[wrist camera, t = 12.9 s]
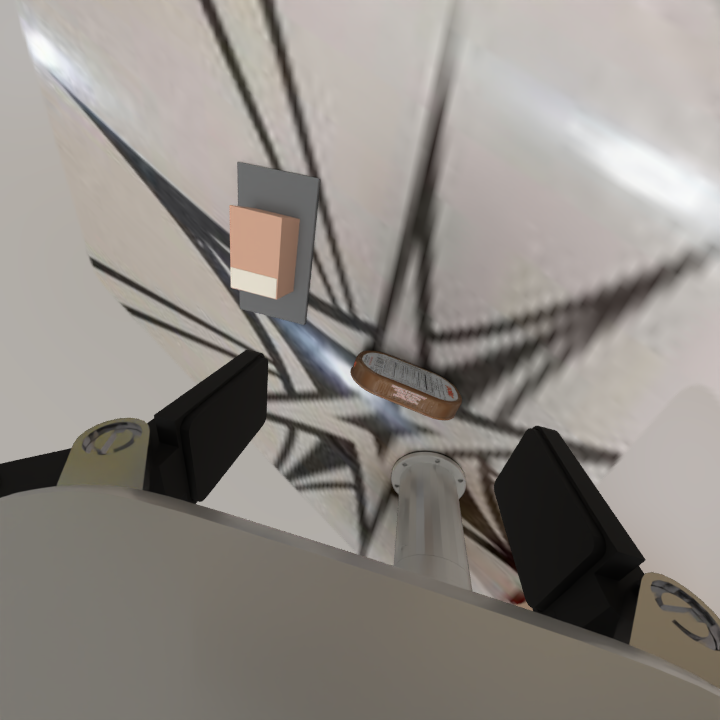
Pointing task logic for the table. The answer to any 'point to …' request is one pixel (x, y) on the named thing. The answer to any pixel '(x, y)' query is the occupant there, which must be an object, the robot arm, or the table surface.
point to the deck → (263, 251)
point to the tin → (406, 385)
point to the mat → (300, 202)
